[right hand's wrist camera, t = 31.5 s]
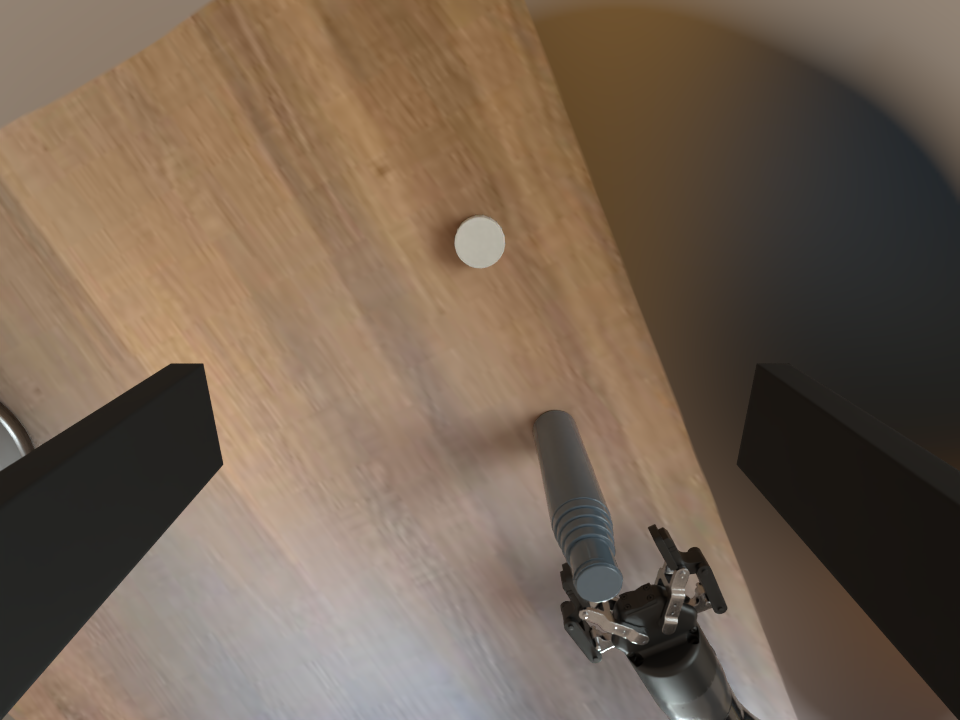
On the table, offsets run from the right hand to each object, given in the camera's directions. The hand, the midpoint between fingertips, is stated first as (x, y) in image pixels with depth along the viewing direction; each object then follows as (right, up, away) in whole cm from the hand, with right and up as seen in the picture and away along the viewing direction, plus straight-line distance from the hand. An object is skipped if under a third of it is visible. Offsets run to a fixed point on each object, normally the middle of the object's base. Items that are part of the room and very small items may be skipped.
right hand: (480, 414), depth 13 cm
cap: (0, +11, +29) cm, 31 cm away
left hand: (+12, -16, +34) cm, 39 cm away
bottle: (+7, -5, +37) cm, 38 cm away
